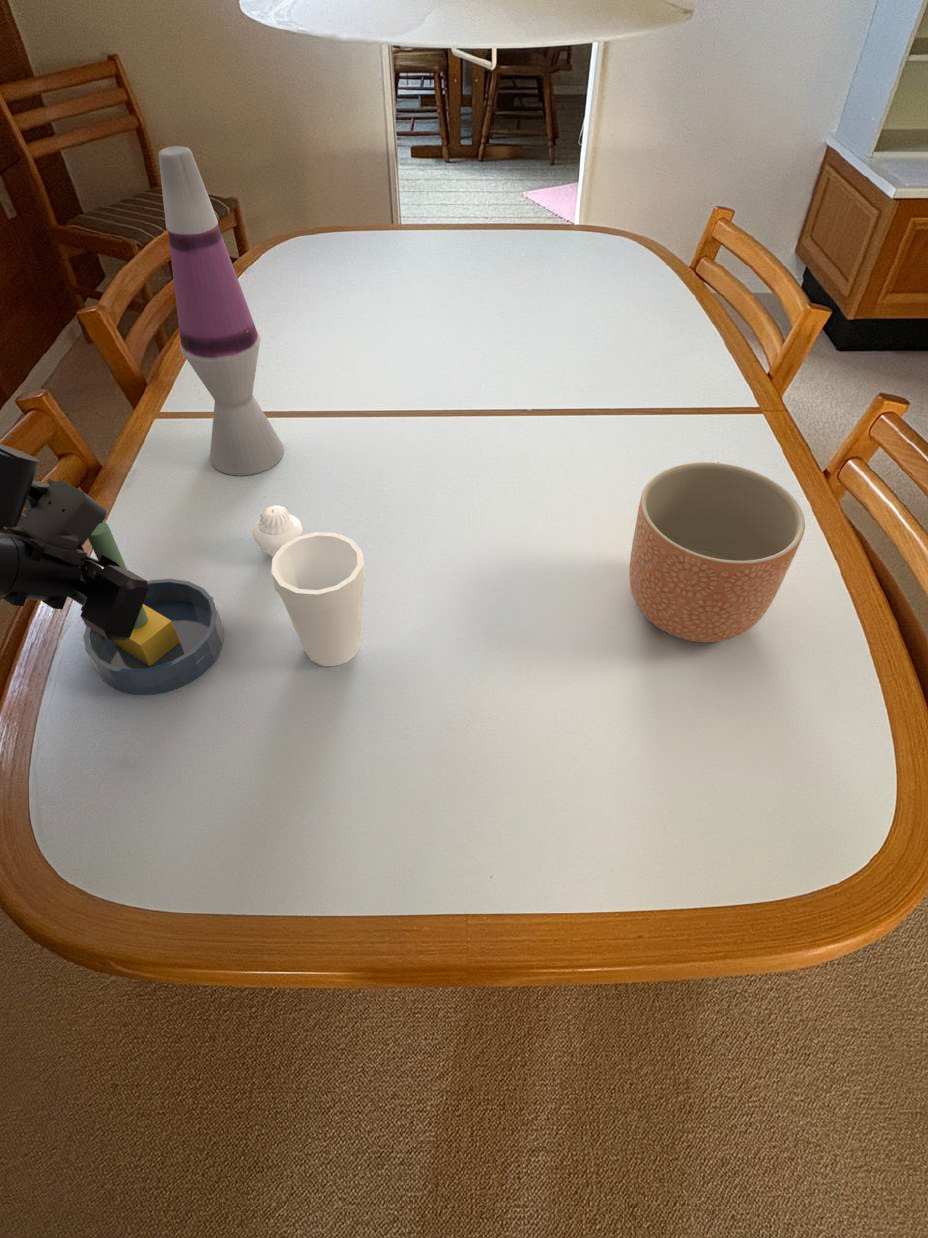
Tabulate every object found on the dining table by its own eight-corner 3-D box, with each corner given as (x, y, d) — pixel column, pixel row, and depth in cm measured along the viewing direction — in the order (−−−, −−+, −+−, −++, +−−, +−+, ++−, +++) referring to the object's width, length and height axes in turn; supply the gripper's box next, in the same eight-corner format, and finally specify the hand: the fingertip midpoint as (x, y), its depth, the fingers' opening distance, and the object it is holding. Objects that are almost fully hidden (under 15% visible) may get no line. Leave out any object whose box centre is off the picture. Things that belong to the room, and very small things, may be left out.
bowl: (104, 712, 84) (91, 690, 81) (89, 623, 92) (77, 600, 90) (236, 669, 88) (229, 647, 85) (210, 588, 96) (202, 565, 94)
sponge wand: (150, 666, 87) (98, 552, 75) (114, 644, 89) (58, 529, 77) (180, 642, 90) (134, 527, 77) (145, 621, 92) (95, 506, 80)
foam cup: (352, 686, 86) (339, 603, 76) (277, 665, 88) (254, 582, 78) (385, 625, 92) (377, 542, 83) (314, 607, 94) (297, 524, 85)
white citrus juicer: (312, 538, 103) (304, 495, 98) (298, 570, 99) (289, 527, 93) (266, 533, 103) (256, 491, 98) (251, 565, 99) (239, 522, 94)
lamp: (205, 441, 118) (120, 140, 89) (277, 427, 120) (217, 130, 91) (215, 482, 111) (126, 171, 82) (290, 467, 113) (230, 159, 84)
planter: (794, 618, 93) (839, 518, 82) (698, 686, 86) (733, 587, 75) (685, 542, 102) (712, 443, 91) (590, 598, 95) (607, 498, 84)
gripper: (96, 518, 65) (223, 545, 80) (-35, 445, 72) (103, 482, 87) (51, 639, 66) (184, 645, 81) (-74, 556, 74) (68, 575, 88)
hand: (134, 582), depth 84 cm, fingers closed on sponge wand, 2 cm apart
